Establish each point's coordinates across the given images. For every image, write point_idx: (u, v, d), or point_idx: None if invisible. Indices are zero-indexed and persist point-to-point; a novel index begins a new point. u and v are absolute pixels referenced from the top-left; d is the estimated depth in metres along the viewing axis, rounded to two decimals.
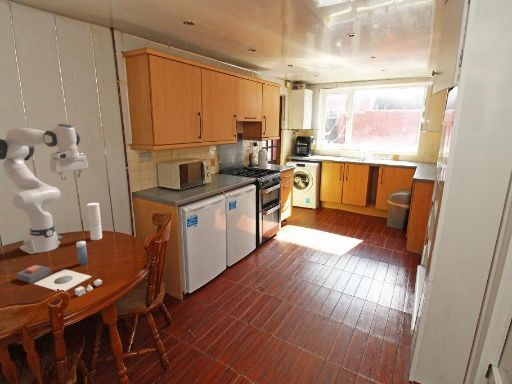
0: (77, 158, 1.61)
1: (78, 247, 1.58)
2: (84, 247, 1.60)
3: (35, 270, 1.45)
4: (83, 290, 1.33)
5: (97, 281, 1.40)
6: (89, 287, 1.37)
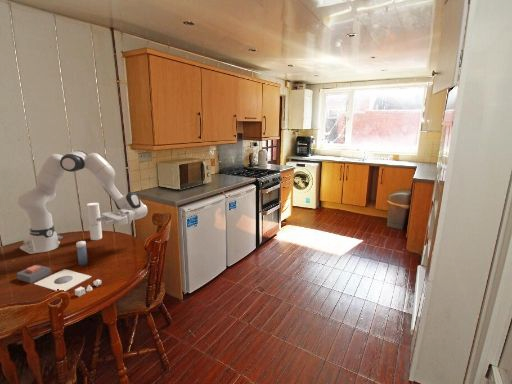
0: None
1: (78, 247, 1.58)
2: (84, 247, 1.60)
3: (35, 270, 1.45)
4: (83, 290, 1.33)
5: (97, 281, 1.40)
6: (89, 287, 1.37)
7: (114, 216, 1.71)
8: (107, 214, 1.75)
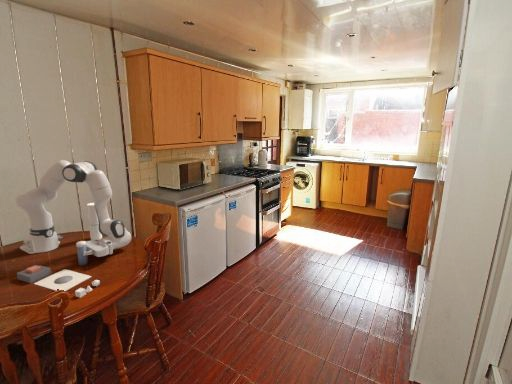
0: None
1: (78, 247, 1.58)
2: (84, 247, 1.60)
3: (35, 270, 1.45)
4: (84, 291, 1.33)
5: (96, 281, 1.40)
6: (89, 288, 1.36)
7: (94, 246, 1.64)
8: (88, 244, 1.68)
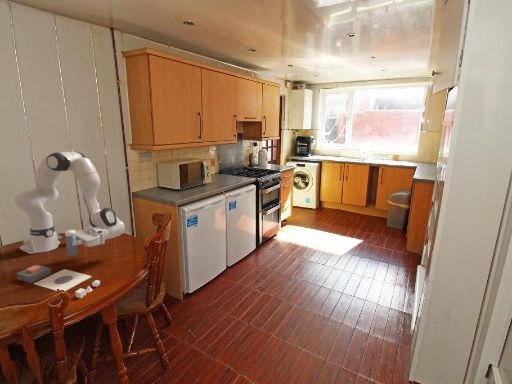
0: None
1: (67, 236, 1.47)
2: (74, 236, 1.49)
3: (35, 270, 1.45)
4: (84, 292, 1.32)
5: (96, 282, 1.39)
6: (89, 288, 1.36)
7: (85, 236, 1.54)
8: (77, 233, 1.57)
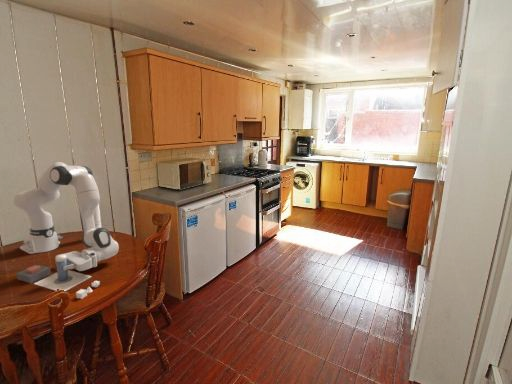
0: None
1: (57, 261, 1.40)
2: (65, 261, 1.42)
3: (35, 270, 1.45)
4: (85, 292, 1.32)
5: (95, 282, 1.39)
6: (89, 289, 1.35)
7: (76, 259, 1.46)
8: (69, 255, 1.50)
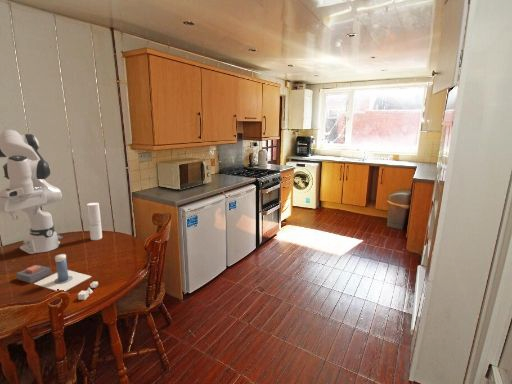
0: (33, 194, 1.41)
1: (57, 261, 1.40)
2: (64, 261, 1.42)
3: (35, 270, 1.45)
4: (87, 293, 1.31)
5: (94, 283, 1.38)
6: (89, 290, 1.35)
7: None
8: None
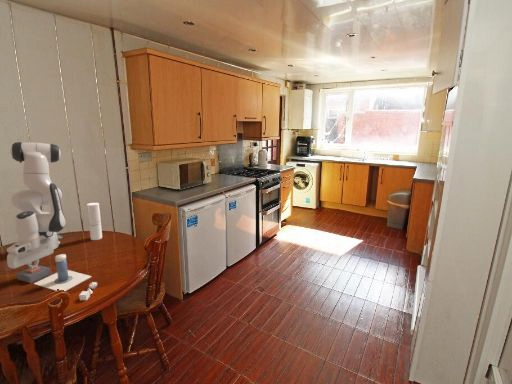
0: (40, 246, 1.47)
1: (57, 261, 1.40)
2: (65, 261, 1.42)
3: (35, 271, 1.46)
4: (88, 293, 1.31)
5: (93, 283, 1.38)
6: (90, 290, 1.34)
7: None
8: None
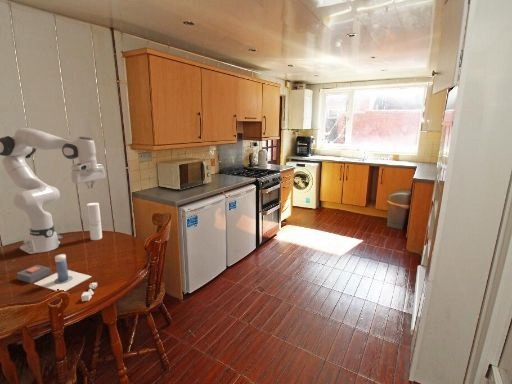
0: (96, 169, 1.68)
1: (57, 262, 1.40)
2: (64, 261, 1.42)
3: (35, 271, 1.46)
4: (90, 294, 1.31)
5: (94, 284, 1.37)
6: (91, 291, 1.34)
7: None
8: None
